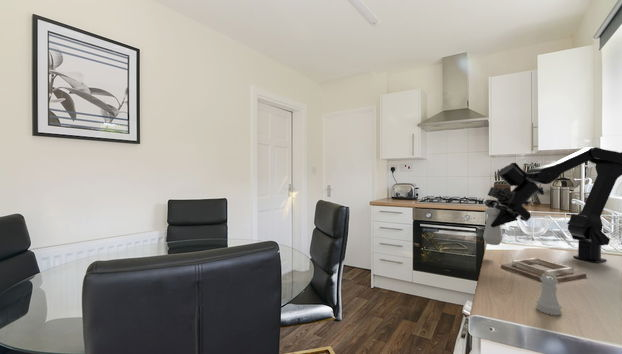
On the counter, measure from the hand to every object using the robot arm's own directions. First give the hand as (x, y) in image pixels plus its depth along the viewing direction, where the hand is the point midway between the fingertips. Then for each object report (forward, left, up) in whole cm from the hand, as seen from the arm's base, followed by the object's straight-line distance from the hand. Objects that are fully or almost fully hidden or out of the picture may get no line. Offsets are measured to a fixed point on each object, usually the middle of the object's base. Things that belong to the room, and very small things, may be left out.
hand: (488, 225), depth 103 cm
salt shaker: (-1, 0, -7) cm, 7 cm away
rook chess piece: (+23, +34, -12) cm, 43 cm away
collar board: (-2, +16, -12) cm, 20 cm away
